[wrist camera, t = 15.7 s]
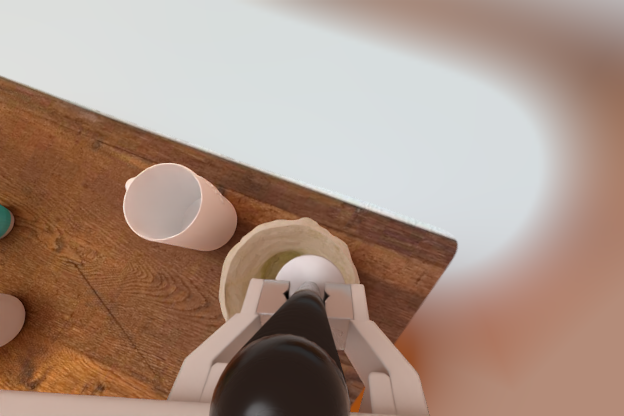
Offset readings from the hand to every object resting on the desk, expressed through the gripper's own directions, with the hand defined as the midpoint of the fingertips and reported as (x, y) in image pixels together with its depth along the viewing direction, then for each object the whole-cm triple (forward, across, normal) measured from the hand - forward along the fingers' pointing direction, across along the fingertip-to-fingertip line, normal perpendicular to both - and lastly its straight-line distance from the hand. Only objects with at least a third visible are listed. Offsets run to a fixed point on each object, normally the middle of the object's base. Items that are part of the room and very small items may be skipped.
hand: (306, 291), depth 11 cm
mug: (+25, +16, +14) cm, 33 cm away
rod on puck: (+8, 0, +8) cm, 11 cm away
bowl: (+18, +2, +20) cm, 27 cm away
